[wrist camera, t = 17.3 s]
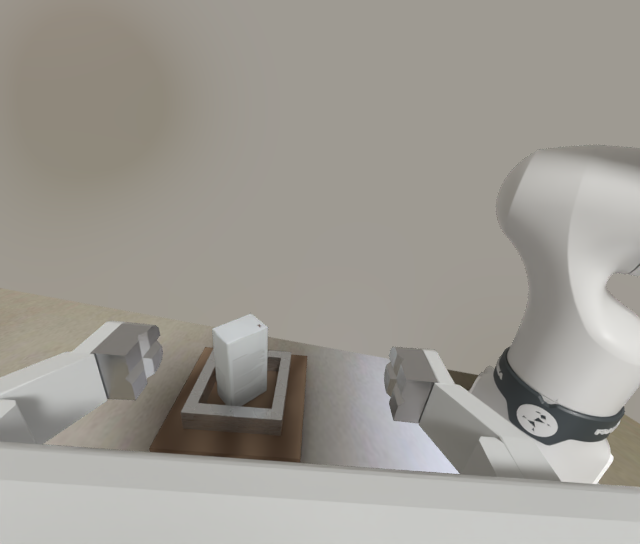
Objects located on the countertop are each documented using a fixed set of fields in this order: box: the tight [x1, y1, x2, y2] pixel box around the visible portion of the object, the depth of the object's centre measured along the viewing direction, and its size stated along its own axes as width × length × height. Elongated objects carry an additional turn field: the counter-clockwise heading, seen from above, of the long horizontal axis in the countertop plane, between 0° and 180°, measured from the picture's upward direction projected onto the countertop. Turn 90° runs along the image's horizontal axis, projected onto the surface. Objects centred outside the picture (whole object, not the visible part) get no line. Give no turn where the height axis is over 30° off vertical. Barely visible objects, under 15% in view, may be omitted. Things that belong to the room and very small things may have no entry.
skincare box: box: [212, 314, 268, 406], centre depth 40 cm, size 6×4×12 cm
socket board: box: [150, 347, 307, 463], centre depth 42 cm, size 18×18×4 cm
